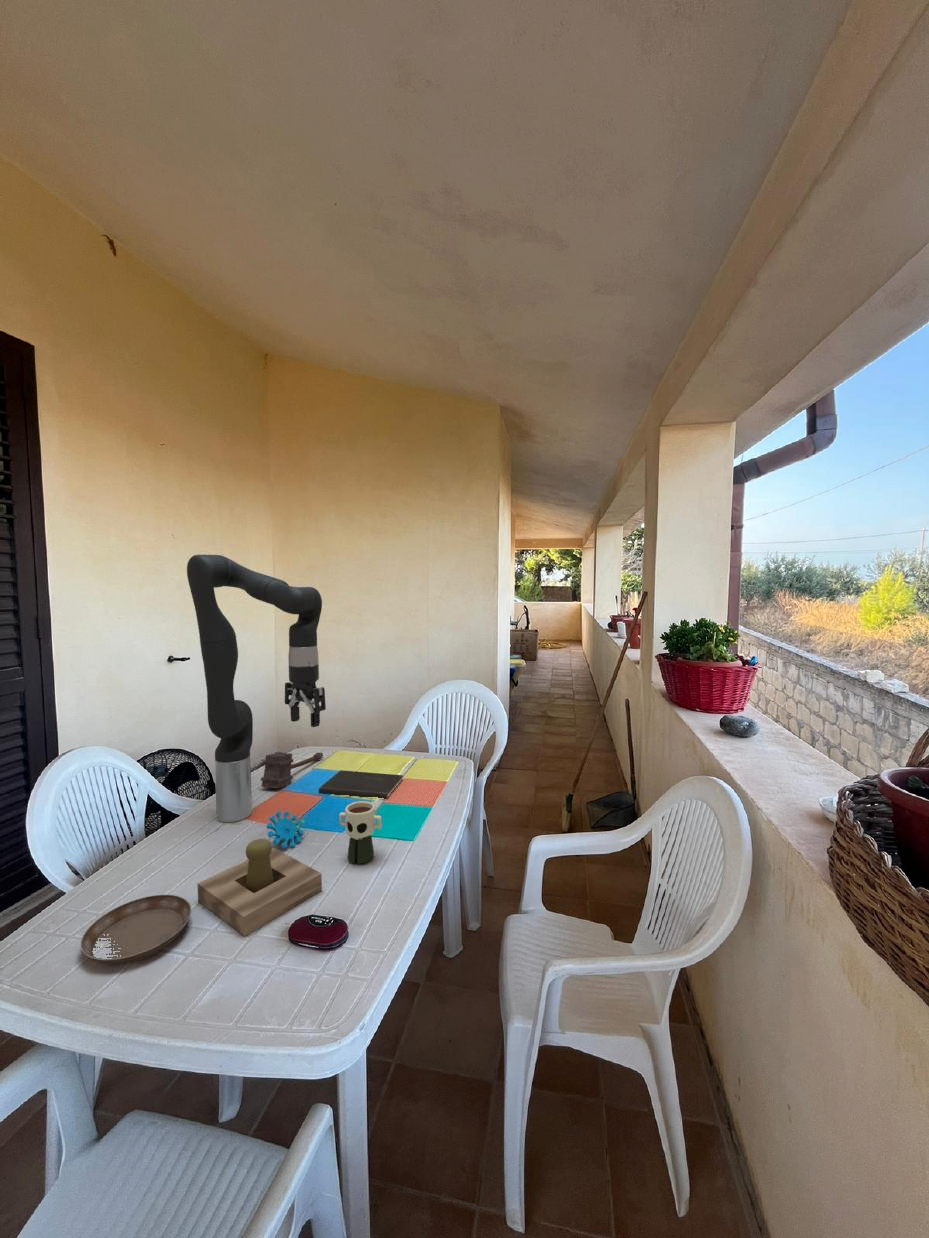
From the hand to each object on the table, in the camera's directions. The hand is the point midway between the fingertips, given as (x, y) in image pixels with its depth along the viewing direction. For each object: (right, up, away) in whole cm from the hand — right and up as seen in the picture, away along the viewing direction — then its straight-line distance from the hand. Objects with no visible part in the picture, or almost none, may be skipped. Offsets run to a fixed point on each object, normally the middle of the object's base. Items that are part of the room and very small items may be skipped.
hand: (305, 723), depth 135 cm
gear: (-4, -31, -2) cm, 31 cm away
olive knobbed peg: (-2, -31, -25) cm, 40 cm away
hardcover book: (+8, -29, +34) cm, 45 cm away
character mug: (+17, -31, -10) cm, 37 cm away
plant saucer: (-20, -33, -38) cm, 54 cm away
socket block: (-2, -32, -25) cm, 41 cm away
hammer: (-17, -27, +46) cm, 56 cm away
